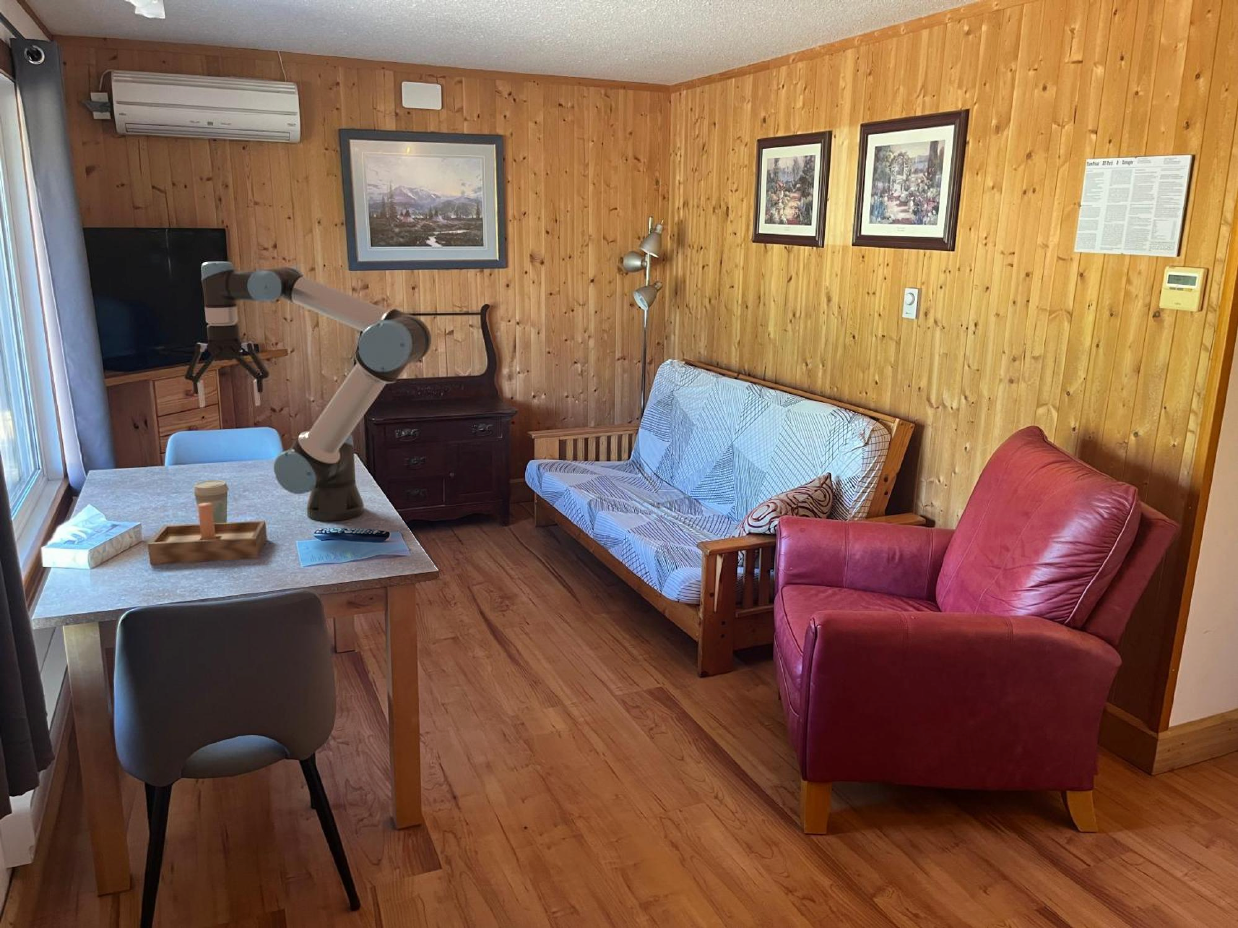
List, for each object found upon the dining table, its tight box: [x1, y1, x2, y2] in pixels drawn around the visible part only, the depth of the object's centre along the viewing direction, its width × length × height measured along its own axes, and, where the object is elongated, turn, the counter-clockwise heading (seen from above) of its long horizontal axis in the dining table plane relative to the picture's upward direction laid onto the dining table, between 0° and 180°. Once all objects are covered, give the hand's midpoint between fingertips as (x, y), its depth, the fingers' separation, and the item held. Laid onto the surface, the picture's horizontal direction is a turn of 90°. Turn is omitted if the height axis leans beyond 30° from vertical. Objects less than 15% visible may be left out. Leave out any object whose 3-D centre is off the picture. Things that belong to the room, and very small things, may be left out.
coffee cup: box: [192, 479, 229, 523], centre depth 249 cm, size 8×8×12 cm
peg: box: [197, 503, 216, 540], centre depth 231 cm, size 3×3×12 cm
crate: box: [147, 520, 268, 565], centre depth 232 cm, size 24×14×5 cm, turn 101°
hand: (230, 405), depth 247 cm, fingers open, 13 cm apart
